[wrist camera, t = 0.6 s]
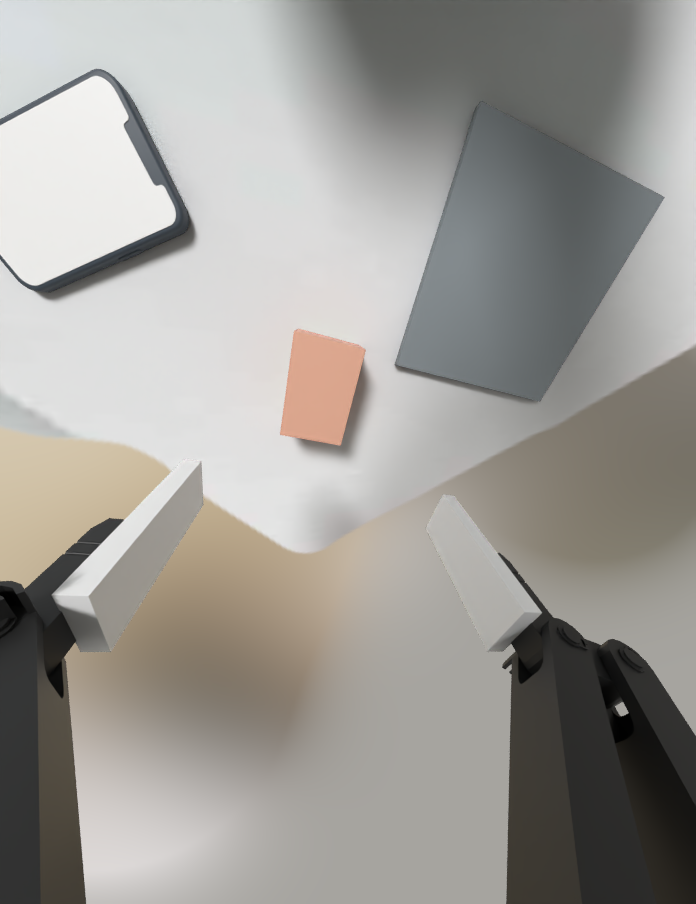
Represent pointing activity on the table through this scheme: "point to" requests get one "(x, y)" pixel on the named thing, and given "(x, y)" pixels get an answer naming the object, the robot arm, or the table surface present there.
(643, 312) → the table surface
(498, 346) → the mat
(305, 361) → the card box
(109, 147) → the smartphone
